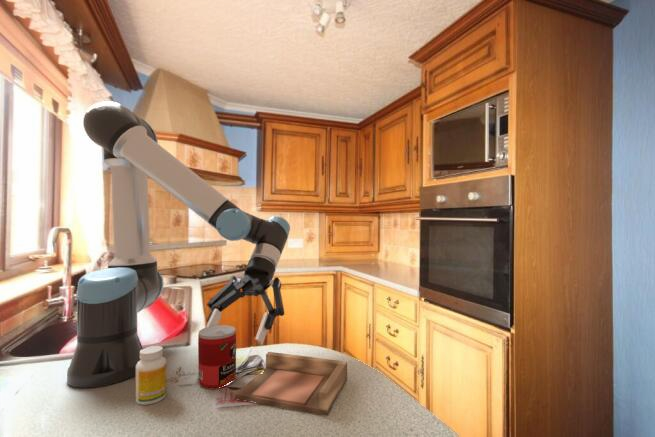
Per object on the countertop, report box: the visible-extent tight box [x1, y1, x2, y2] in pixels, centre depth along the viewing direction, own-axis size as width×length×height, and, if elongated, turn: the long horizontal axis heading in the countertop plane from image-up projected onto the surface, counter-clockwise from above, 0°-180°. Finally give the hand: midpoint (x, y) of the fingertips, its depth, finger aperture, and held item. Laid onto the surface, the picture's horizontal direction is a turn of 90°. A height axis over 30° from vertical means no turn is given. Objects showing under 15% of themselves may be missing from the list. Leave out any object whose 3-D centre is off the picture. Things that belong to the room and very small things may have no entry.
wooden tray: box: [234, 351, 348, 417], centre depth 68 cm, size 19×14×4 cm
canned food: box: [197, 324, 237, 390], centre depth 72 cm, size 8×8×11 cm
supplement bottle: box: [134, 345, 167, 406], centre depth 65 cm, size 5×5×10 cm
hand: (231, 339), depth 74 cm, fingers open, 13 cm apart
